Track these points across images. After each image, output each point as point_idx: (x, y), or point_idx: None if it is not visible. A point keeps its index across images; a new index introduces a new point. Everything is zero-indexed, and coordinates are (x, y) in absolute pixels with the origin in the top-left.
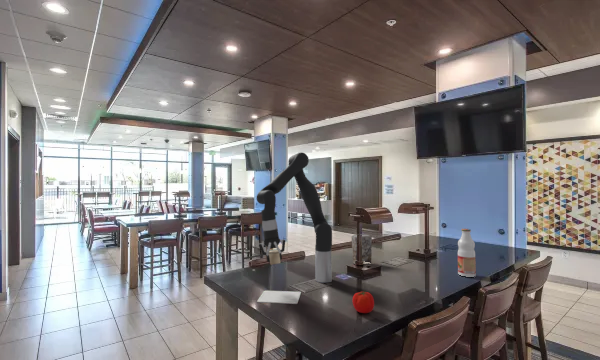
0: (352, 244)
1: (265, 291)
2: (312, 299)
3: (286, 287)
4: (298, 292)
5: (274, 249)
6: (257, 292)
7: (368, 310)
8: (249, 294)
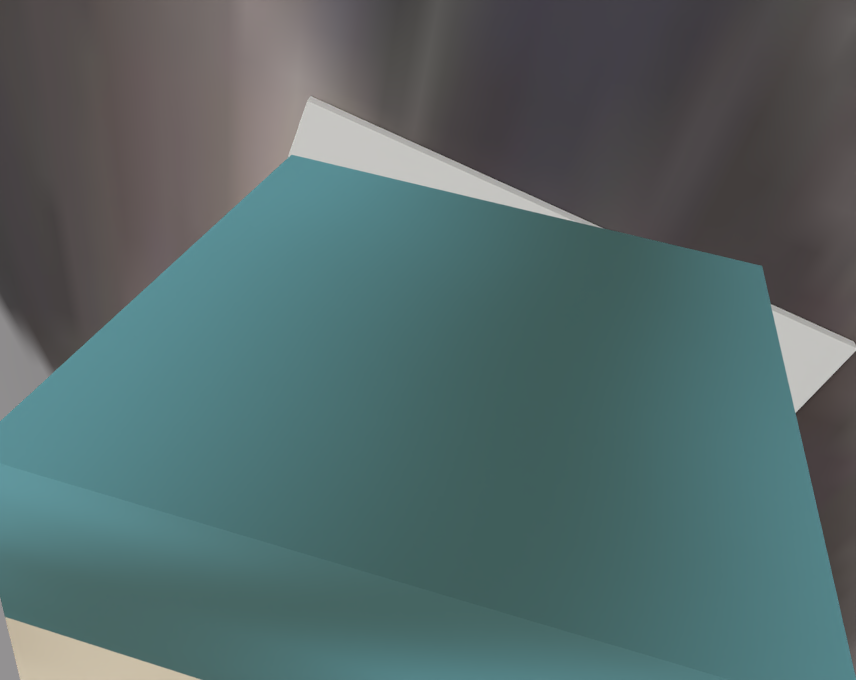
0: None
1: (321, 151)
2: (841, 556)
3: (769, 12)
4: (807, 357)
5: (540, 642)
6: (193, 108)
7: None
8: (71, 156)
